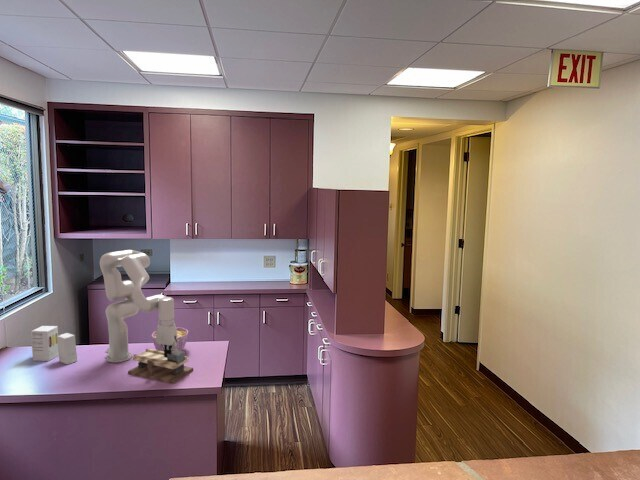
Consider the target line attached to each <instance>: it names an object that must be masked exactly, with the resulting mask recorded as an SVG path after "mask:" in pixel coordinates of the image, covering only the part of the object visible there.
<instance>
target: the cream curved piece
mask: <svg viewBox="0 0 640 480" xmlns="http://www.w3.org/2000/svg"><path fill="white" fill-rule="evenodd" d="M147 360H152V365H156V366H161V367H165V368H170V369H176V368H177V367H179V366H181V365H183V364H184V365H185V364H186V363H188V362H189V358H188V356H186V355H185V360H184V361H182V362H180V363H179V364H176V363H175V362H170V361H167V358H166V357H164V352H163V351H158V350H156V349H152V348H148V347H146V348H145V351H143V352H141V353H138V354H137V353H135V354H133V357H132V361H134V362H135V361H136V362H137V363H138V362H143V363H147Z"/></svg>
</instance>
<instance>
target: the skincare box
mask: <svg viewBox="0 0 640 480" xmlns="http://www.w3.org/2000/svg"><path fill="white" fill-rule="evenodd" d="M57 343H58V353H59V355H58V361H59V362H60V363H62V364H65V365H69V364H70V365H71V364H72V363H76V362H78V356H77V355H78V353H77V344H76V335H75V334H72V333H69V332H64V333H61V334H58V336H57Z"/></svg>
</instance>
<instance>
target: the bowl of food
mask: <svg viewBox="0 0 640 480" xmlns="http://www.w3.org/2000/svg"><path fill="white" fill-rule="evenodd" d="M176 330H177V343H176V344H177V346H176V347H172V348H171V350H180V351H183V350H184V349H185V347H186V344H187V339H188V335H189V330H188V329H187V328H184V327H178V326H176ZM151 338H152V342H153V345H154V348H155V350H158V351H163V352H164V349H163V347H162V346H161V345H160V344H158V343H157V342H156V330H155V331H153V333H151Z"/></svg>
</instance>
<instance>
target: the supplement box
mask: <svg viewBox="0 0 640 480" xmlns="http://www.w3.org/2000/svg"><path fill="white" fill-rule="evenodd" d="M58 335H59V327H58V325H41V326H38V327H37V328H34V329H33V330H31V331H30V336H31V350H32V351H31V352H32V353H31V355H32V361H33V362H34V361H36V362H50V361H52V360H53V359H55V358H57V357H59V353H58V343H57V336H58Z"/></svg>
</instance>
